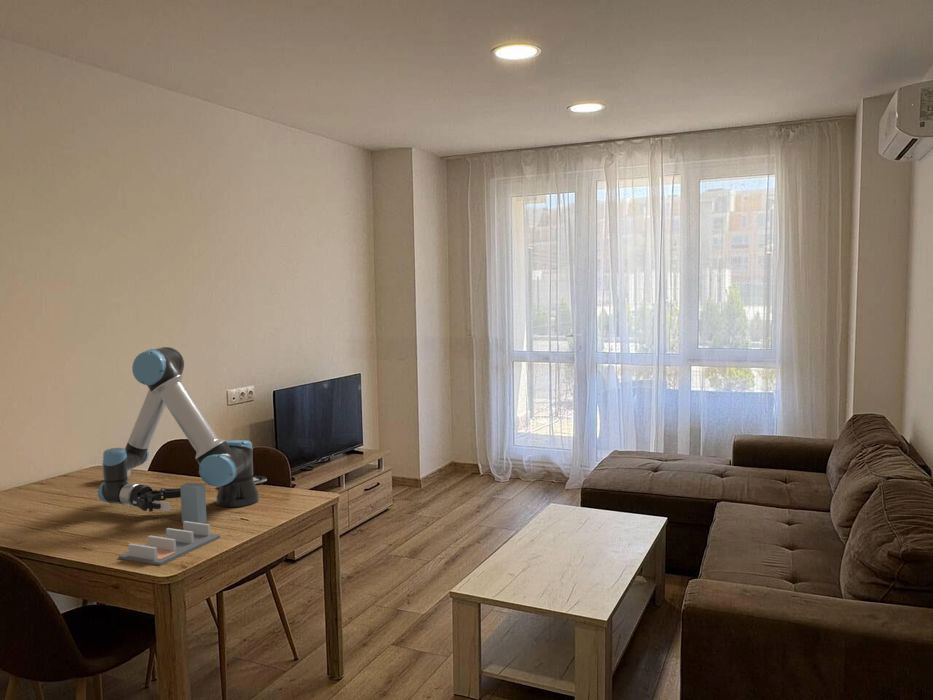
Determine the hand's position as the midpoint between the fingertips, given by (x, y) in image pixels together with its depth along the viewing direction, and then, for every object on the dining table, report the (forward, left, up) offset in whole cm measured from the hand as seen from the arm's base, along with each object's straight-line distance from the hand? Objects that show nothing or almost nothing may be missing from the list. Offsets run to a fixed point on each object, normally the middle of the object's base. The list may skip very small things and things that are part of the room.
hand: (184, 501), depth 250 cm
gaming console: (-45, -12, -8) cm, 47 cm away
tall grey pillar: (0, +4, -7) cm, 8 cm away
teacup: (-31, -65, -7) cm, 73 cm away
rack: (+22, +15, -7) cm, 27 cm away
